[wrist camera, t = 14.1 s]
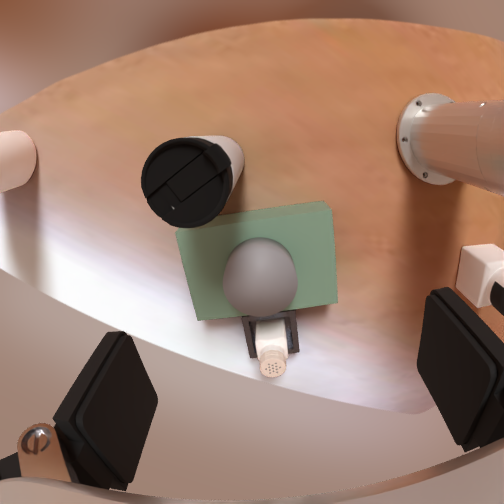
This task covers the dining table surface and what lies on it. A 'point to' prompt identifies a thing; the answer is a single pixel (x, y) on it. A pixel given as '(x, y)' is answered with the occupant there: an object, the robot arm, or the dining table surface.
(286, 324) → the dark brown square tray
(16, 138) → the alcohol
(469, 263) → the medicine bottle
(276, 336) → the pepper shaker
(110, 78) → the dining table surface
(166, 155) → the travel mug
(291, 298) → the green slab with dome
